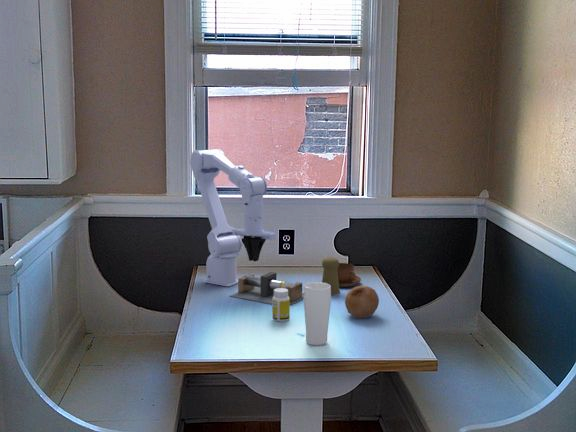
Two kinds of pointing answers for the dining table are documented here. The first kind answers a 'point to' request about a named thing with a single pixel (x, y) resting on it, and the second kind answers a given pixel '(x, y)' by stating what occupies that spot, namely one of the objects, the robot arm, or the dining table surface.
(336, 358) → the dining table surface
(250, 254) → the robot arm
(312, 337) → the drinking glass
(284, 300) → the supplement bottle
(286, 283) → the rod holder
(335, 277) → the cork
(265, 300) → the mat
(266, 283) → the dark grey upright slab
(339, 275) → the cup and saucer
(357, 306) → the onion
